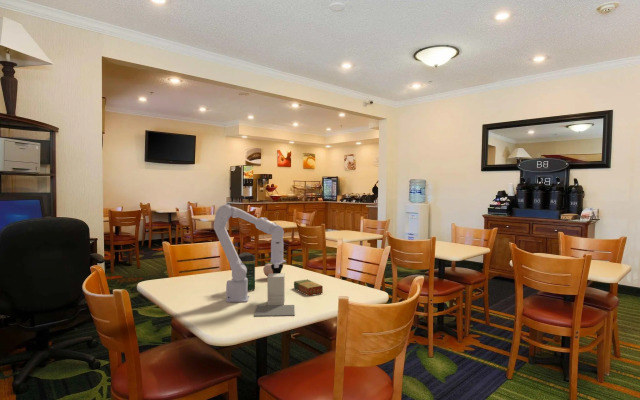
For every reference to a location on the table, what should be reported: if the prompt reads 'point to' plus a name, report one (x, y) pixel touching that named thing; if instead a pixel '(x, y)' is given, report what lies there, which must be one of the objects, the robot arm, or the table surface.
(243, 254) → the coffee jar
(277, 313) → the mat
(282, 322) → the table surface
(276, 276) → the supplement box
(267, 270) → the decorative fruit
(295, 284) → the carton
